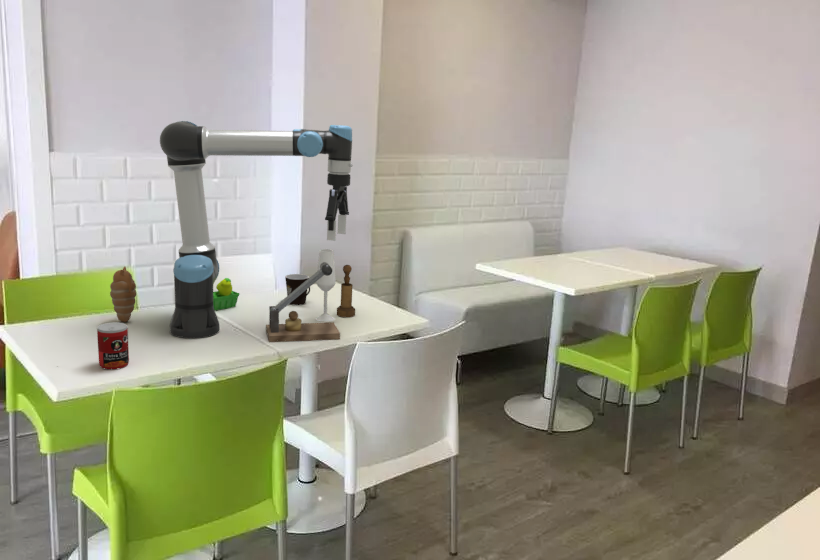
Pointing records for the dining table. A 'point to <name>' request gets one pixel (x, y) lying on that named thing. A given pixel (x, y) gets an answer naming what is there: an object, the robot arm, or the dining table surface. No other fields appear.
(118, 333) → the canned food
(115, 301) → the brown ridged tall ovoid
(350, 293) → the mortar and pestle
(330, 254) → the champagne flute
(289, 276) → the coffee mug
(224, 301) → the fruit basket
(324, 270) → the lever
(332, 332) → the nutcracker base
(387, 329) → the dining table surface
